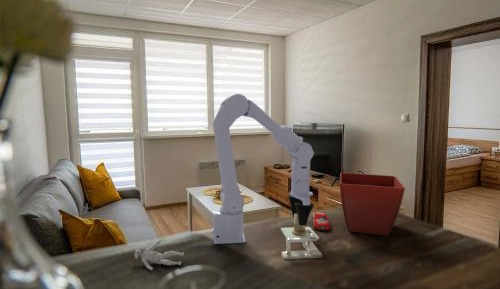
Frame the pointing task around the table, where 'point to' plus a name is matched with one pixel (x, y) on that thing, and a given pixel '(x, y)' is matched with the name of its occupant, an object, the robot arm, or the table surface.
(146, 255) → the soldier figure
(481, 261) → the table surface
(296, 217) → the ringed peg
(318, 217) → the race car
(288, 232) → the sage mat
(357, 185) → the plant pot
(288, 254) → the wire frame
